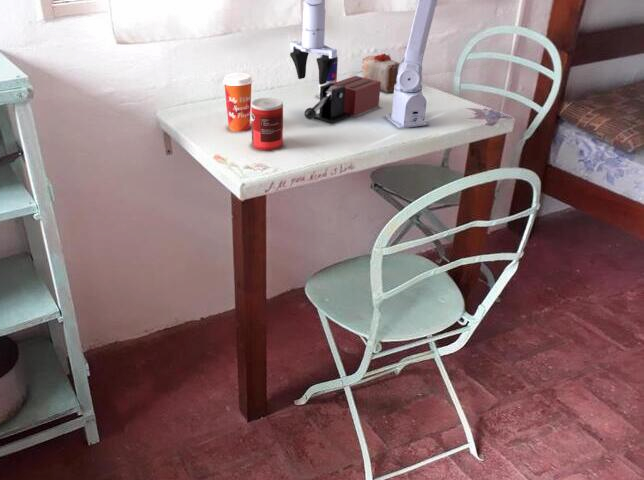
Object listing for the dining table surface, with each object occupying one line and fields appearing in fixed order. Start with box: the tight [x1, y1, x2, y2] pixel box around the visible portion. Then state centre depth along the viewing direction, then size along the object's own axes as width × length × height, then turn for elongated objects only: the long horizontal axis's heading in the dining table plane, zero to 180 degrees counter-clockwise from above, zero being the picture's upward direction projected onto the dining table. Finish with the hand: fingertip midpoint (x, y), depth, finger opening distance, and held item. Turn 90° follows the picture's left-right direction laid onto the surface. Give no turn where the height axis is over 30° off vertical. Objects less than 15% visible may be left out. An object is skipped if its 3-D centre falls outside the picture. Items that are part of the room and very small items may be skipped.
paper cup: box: [222, 72, 254, 132], centre depth 175 cm, size 8×8×14 cm
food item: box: [361, 53, 401, 94], centre depth 202 cm, size 14×8×10 cm, turn 29°
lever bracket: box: [312, 83, 352, 125], centre depth 180 cm, size 8×7×9 cm
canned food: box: [250, 97, 284, 152], centre depth 165 cm, size 8×8×11 cm
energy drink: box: [317, 55, 339, 98], centre depth 195 cm, size 5×5×12 cm
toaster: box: [334, 75, 381, 118], centre depth 186 cm, size 11×9×8 cm
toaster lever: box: [304, 86, 337, 120], centre depth 177 cm, size 12×3×3 cm, turn 132°
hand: (312, 80), depth 179 cm, fingers open, 7 cm apart
